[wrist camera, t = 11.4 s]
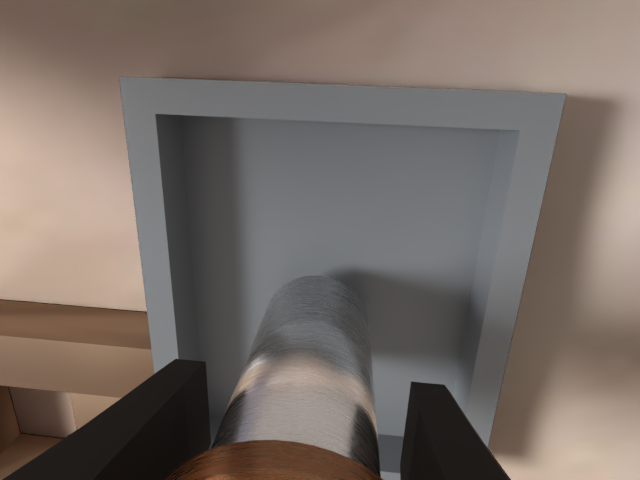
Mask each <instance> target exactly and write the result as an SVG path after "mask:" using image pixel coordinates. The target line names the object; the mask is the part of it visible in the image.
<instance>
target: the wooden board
mask: <svg viewBox="0 0 640 480" xmlns="http://www.w3.org/2000/svg"><path fill="white" fill-rule="evenodd" d="M152 375H154V366H153V357H152V349H151V340H150V332H149V324H148V315H147V312H136V311H125V310H113V309H101V308H90V307H78V306H67V305H55V304H43V303H32V302H20V301H9V300H0V480H2V479H4V478H5V477H7V476H9V475H10V474H12V473H13V472H15V471H16V470H18V469H19V468H21V467H22V466H24V465H25V464H27V463H28V462H30V461H31V460H33V459H34V458H36V457H37V456H39V455H40V454H42V453H43V452H45V451H46V450H48V449H49V448H51V447H52V446H54V445H55V444H57V443H58V442H60V441H61V440H63V439H62V438H53V437H44V436H35V435H26V434H20V431H19V427H18V423H17V420H16V416H15V412H14V408H13V405H12V401H11V397H10V393H9V390H8V386H11V387H21V388H30V389H40V390H50V391H59V392H69V394H70V399H71V404H72V408H73V413H74V418H75V423H76V428H77V430H78V429H79V428H81V427H82V426H83V425H85V424H86V423H88V422H89V421H90V420H92V419H93V418H95V417H96V416H97V415H99V414H100V413H101V412H103V411H104V410H106V409H107V408H108V407H110V406H111V405H113V404H114V403H115V402H117V401H118V400H120V399H121V398H122V397H124V396H125V395H126V394H128V393H129V392H130V391H132V390H133V389H135V388H136V387H137V386H139V385H140V384H141V383H143V382H144V381H145V380H147V379H148V378H149V377H151V376H152Z"/></svg>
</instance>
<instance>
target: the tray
mask: <svg viewBox="0 0 640 480" xmlns="http://www.w3.org/2000/svg"><path fill="white" fill-rule="evenodd" d="M119 81H120V90H121V98H122V106H123V115H124V123H125V131H126V140H127V148H128V156H129V165H130V173H131V182H132V190H133V198H134V207H135V215H136V223H137V232H138V240H139V248H140V257H141V265H142V274H143V282H144V290H145V299H146V307H147V315H148V324H149V332H150V340H151V349H152V357H153V366H154V374H155V373H156V372H158V371H159V370H160V369H162V368H163V367H165V366H166V365H167V364H169V363H170V362H172V361H173V360H175V359H183V360H194V361H204V362H206V373H207V388H208V403H209V418H210V433H211V445H210V448H209V450H210V449H211V447H212V444H213V442H214V439H215V437H216V434H217V432H218V429H219V427H220V424H221V422H222V419H223V417H224V414H225V412H226V409H227V407H228V404H229V402H230V399H231V397H232V394H233V391H234V389H235V386H236V384H237V381H238V379H239V376H240V374H241V371H242V369H243V366H244V364H245V361H246V359H247V356H248V354H249V351H250V349H251V346H252V344H253V341H254V339H255V336H256V334H257V331H258V329H259V326H260V324H261V321H262V319H263V316H264V314H265V311H266V309H267V306H268V304H269V302H270V300H271V298H272V297H273V295H274V294H275V293H276V292H277V290H278V289H280V288H281V287H282V286H283V285H285V284H286V283H288V282H290V281H292V280H294V279H297V278H300V277H305V276H315V275H316V276H325V277H330V278H333V279H336V280H339V281H341V282H343V283H344V284H346V285H348V286H349V287H350V288H352V289H353V290H354V291H355V292H356V293H357V294H358V295H359V297H360V298H361V299H362V301H363V303H364V305H365V307H366V309H367V312H368V317H369V328H370V341H371V354H372V367H373V381H374V394H375V407H376V421H377V434H378V447H379V461H380V474H381V478H382V479H383V480H401V477H400V461H401V453H402V446H403V438H404V431H405V423H406V416H407V408H408V401H409V393H410V386H411V382H421V383H432V384H442V385H445V386H446V387H447V389H448V390H449V391H450V392H451V394H452V396H453V397H454V399H455V400H456V402H457V403H458V405H459V406H460V408H461V410H462V411H463V413H464V414H465V416H466V417H467V419H468V420H469V422H470V423H471V425H472V426H473V428H474V429H475V430H476V432H477V433H478V435H479V436H480V438H481V439H482V441H483V442H484V444H485V445H486V446H487V448H488V443H489V439H490V434H491V430H492V425H493V421H494V416H495V412H496V408H497V403H498V399H499V394H500V390H501V385H502V381H503V376H504V372H505V367H506V363H507V358H508V354H509V349H510V345H511V340H512V336H513V331H514V327H515V322H516V318H517V313H518V309H519V304H520V300H521V295H522V291H523V286H524V282H525V277H526V273H527V268H528V264H529V259H530V255H531V250H532V246H533V241H534V237H535V232H536V228H537V223H538V219H539V214H540V210H541V205H542V201H543V196H544V192H545V187H546V183H547V178H548V174H549V169H550V165H551V160H552V156H553V151H554V147H555V142H556V138H557V133H558V129H559V124H560V120H561V115H562V111H563V106H564V102H565V97H566V94H561V93H543V92H521V91H495V90H468V89H442V88H416V87H389V86H363V85H337V84H310V83H284V82H258V81H231V80H205V79H179V78H149V77H119Z"/></svg>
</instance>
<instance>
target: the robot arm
mask: <svg viewBox="0 0 640 480" xmlns="http://www.w3.org/2000/svg"><path fill="white" fill-rule="evenodd" d="M210 445H211V433H210V418H209V403H208V388H207V373H206V362H204V361H194V360H183V359H175V360H173V361H172V362H170V363H169V364H167V365H166V366H165V367H163V368H162V369H160V370H159V371H158V372H156V373H155V374H154V375H152V376H151V377H149V378H148V379H147V380H145V381H144V382H143V383H141V384H140V385H139V386H137V387H136V388H135V389H133V390H132V391H130V392H129V393H128V394H126V395H125V396H124V397H122V398H121V399H120V400H118V401H117V402H115V403H114V404H113V405H111V406H110V407H108V408H107V409H106V410H104V411H103V412H101V413H100V414H99V415H97V416H96V417H95V418H93V419H92V420H90V421H89V422H88V423H86V424H85V425H83V426H82V427H81V428H79V429H78V430H76V431H75V432H73V433H72V434H70V435H69V436H67V437H66V438H64V439H63V440H61V441H60V442H58V443H57V444H55V445H54V446H52V447H51V448H49V449H48V450H46V451H45V452H43V453H42V454H40V455H39V456H37V457H36V458H34V459H33V460H31V461H30V462H28V463H27V464H25V465H24V466H22V467H21V468H19V469H18V470H16V471H15V472H13V473H12V474H10V475H9V476H7V477H5V478H4V479H2V480H165V479H166V478H167V477H168V476H169V475H170V474H171V473H172V472H173V471H174V470H175V469H177V468H178V467H179V466H181V465H182V464H183V463H185V462H186V461H188V460H190V459H191V458H193V457H195V456H197V455H199V454H201V453H203V452H206V451H208V450H209V448H210ZM400 477H401V480H511V479H510V478H509V477H508V475H507V474H506V473H505V471H504V470H503V469H502V467H501V466H500V464H499V463H498V462H497V460H496V459H495V458H494V456H493V455H492V453H491V452H490V451H489V449H488V448H487V446H486V445H485V444H484V442H483V441H482V439H481V438H480V436H479V435H478V433H477V432H476V430H475V429H474V428H473V426H472V425H471V423H470V422H469V420H468V419H467V417H466V416H465V414H464V413H463V411H462V410H461V408H460V406H459V405H458V403H457V402H456V400H455V399H454V397H453V396H452V394H451V392H450V391H449V390H448V389H447V387H446V386H445V385H442V384H432V383H421V382H411V386H410V393H409V401H408V408H407V416H406V423H405V431H404V438H403V446H402V453H401V461H400Z"/></svg>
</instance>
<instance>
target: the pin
mask: <svg viewBox="0 0 640 480" xmlns="http://www.w3.org/2000/svg"><path fill="white" fill-rule="evenodd" d="M165 480H383V479H382V478H381V474H380V461H379V447H378V434H377V421H376V407H375V394H374V381H373V367H372V354H371V341H370V328H369V317H368V312H367V309H366V307H365V305H364V303H363V301H362V299H361V298H360V297H359V295H358V294H357V293H356V292H355V291H354V290H353V289H352V288H350V287H349V286H348V285H346V284H344V283H343V282H341V281H339V280H336V279H333V278H330V277H325V276H316V275H315V276H305V277H300V278H297V279H294V280H292V281H290V282H288V283H286V284H285V285H283V286H282V287H281V288H280V289H278V290H277V292H276V293H275V294H274V295H273V297H272V298H271V300H270V302H269V304H268V306H267V309H266V311H265V314H264V316H263V319H262V321H261V324H260V326H259V329H258V331H257V334H256V336H255V339H254V341H253V344H252V346H251V349H250V351H249V354H248V356H247V359H246V361H245V364H244V366H243V369H242V371H241V374H240V376H239V379H238V381H237V384H236V386H235V389H234V391H233V394H232V397H231V399H230V402H229V404H228V407H227V409H226V412H225V414H224V417H223V419H222V422H221V424H220V427H219V429H218V432H217V434H216V437H215V439H214V442H213V444H212V447H211V449H210V450H208V451H206V452H203V453H201V454H199V455H197V456H195V457H193V458H191V459H190V460H188V461H186V462H185V463H183V464H182V465H181V466H179V467H178V468H177V469H175V470H174V471H173V472H172V473H171V474H170V475H169V476H168V477H167V478H166V479H165Z"/></svg>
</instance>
